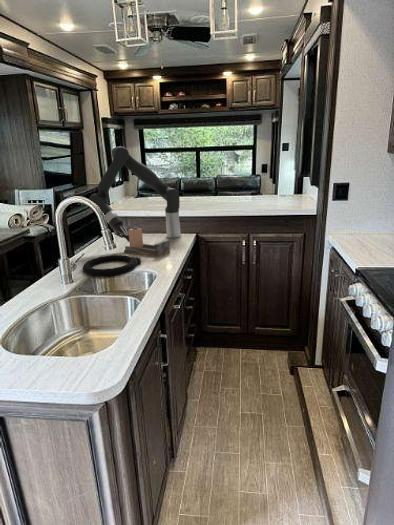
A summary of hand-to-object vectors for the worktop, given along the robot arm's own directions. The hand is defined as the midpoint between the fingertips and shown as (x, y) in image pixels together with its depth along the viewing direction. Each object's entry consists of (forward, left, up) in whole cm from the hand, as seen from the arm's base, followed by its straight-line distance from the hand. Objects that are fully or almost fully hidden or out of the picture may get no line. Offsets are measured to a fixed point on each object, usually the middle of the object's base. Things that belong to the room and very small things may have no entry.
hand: (130, 241), depth 212 cm
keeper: (0, +4, -4) cm, 6 cm away
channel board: (0, +12, -6) cm, 13 cm away
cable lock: (+30, +12, -6) cm, 33 cm away
